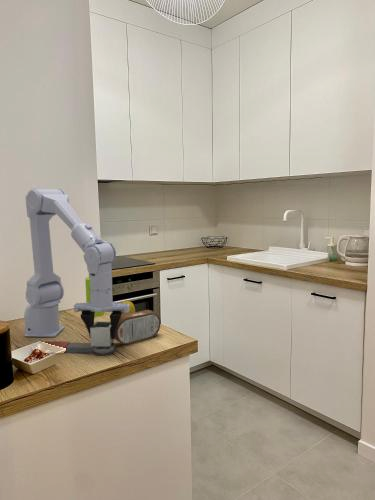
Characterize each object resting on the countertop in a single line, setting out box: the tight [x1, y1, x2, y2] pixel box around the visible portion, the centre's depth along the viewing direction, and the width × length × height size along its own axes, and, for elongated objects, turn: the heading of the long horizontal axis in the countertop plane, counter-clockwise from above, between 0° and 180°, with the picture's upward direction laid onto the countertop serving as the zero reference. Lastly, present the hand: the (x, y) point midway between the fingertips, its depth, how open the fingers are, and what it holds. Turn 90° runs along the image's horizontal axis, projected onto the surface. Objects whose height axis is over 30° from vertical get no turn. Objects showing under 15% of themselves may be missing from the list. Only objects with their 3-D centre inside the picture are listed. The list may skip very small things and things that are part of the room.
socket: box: [90, 320, 116, 346], centre depth 99 cm, size 5×5×5 cm
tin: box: [114, 309, 162, 345], centre depth 107 cm, size 15×3×8 cm, turn 126°
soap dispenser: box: [85, 272, 105, 317], centre depth 129 cm, size 6×7×20 cm
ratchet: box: [40, 340, 116, 357], centre depth 100 cm, size 21×6×4 cm, turn 88°
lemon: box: [121, 299, 136, 316], centre depth 121 cm, size 6×6×8 cm
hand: (102, 337), depth 99 cm, fingers closed on socket, 5 cm apart
